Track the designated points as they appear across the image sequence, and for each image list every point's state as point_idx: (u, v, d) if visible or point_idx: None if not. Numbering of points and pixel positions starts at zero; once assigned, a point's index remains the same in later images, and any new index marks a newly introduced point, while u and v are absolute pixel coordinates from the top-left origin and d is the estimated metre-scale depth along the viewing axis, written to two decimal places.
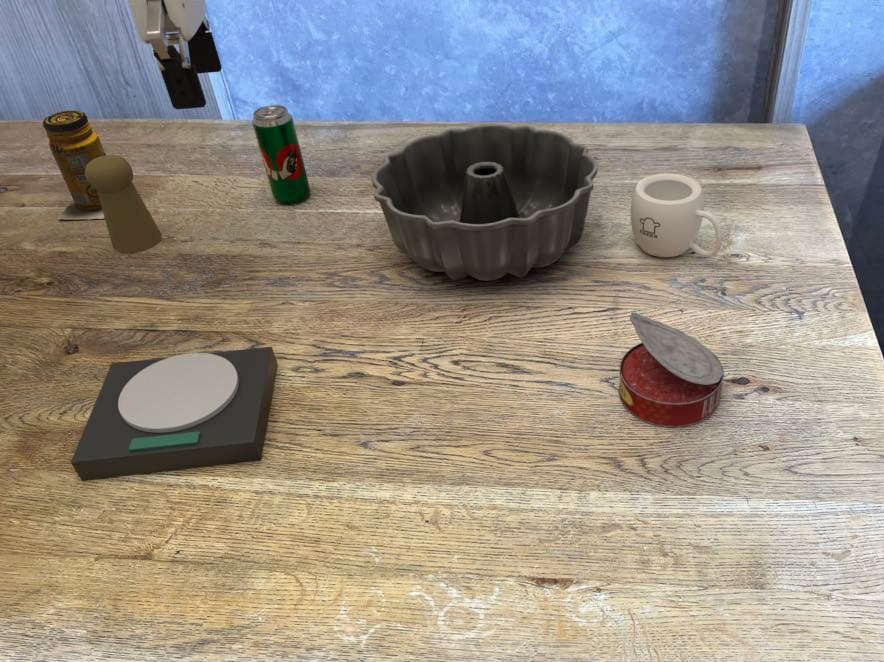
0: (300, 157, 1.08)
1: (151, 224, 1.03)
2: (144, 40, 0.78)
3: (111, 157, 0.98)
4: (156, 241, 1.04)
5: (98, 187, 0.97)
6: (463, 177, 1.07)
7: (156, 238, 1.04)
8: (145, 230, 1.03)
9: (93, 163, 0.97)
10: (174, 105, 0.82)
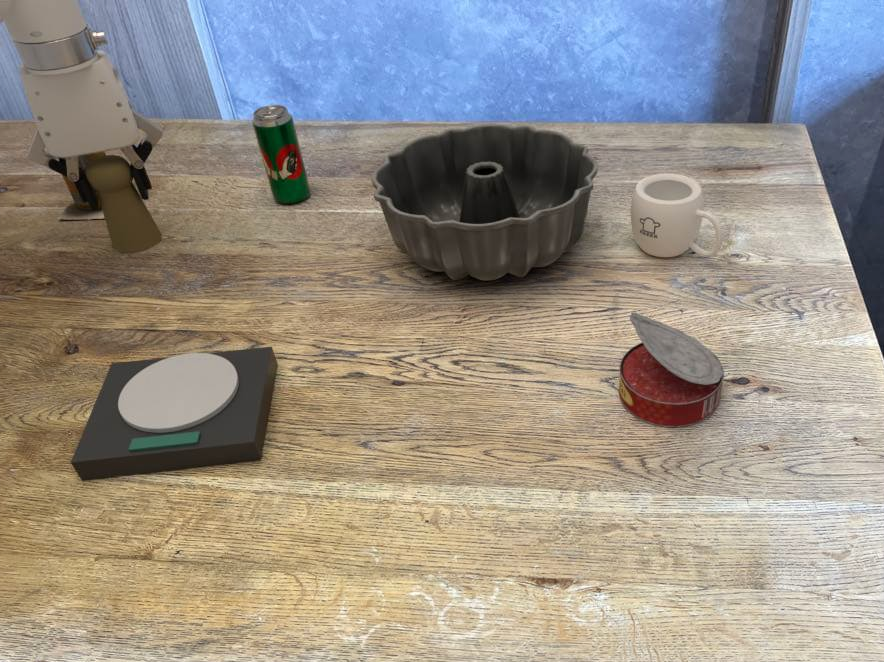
0: (300, 157, 1.08)
1: (151, 224, 1.03)
2: None
3: (111, 157, 0.98)
4: (156, 241, 1.04)
5: (98, 187, 0.97)
6: (463, 177, 1.07)
7: (156, 238, 1.04)
8: (145, 230, 1.03)
9: (93, 163, 0.97)
10: None
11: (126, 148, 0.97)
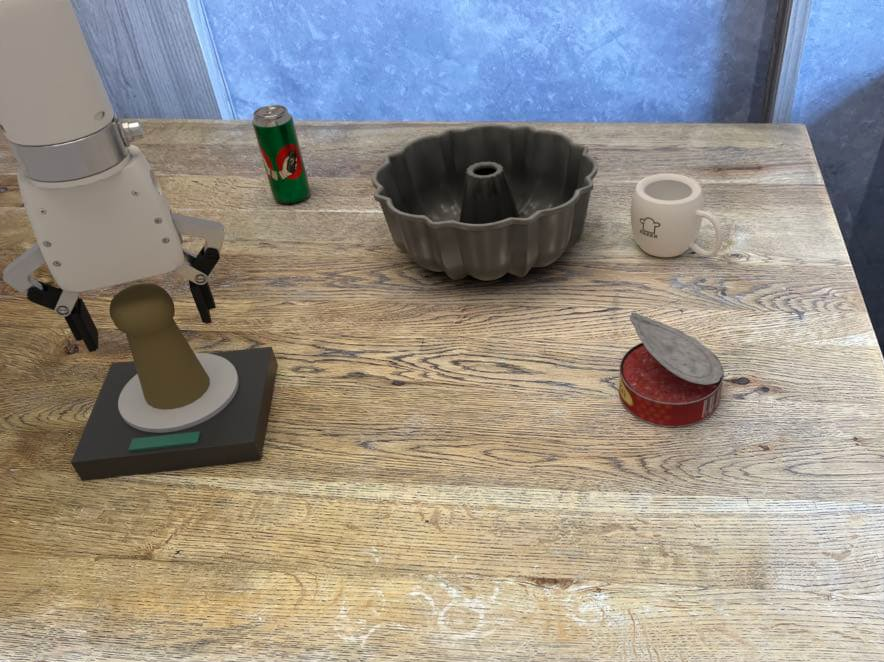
0: (300, 157, 1.08)
1: (197, 369, 0.77)
2: None
3: (145, 288, 0.71)
4: (203, 391, 0.77)
5: (127, 331, 0.71)
6: (463, 177, 1.07)
7: (203, 388, 0.77)
8: (190, 380, 0.76)
9: (121, 298, 0.70)
10: None
11: None
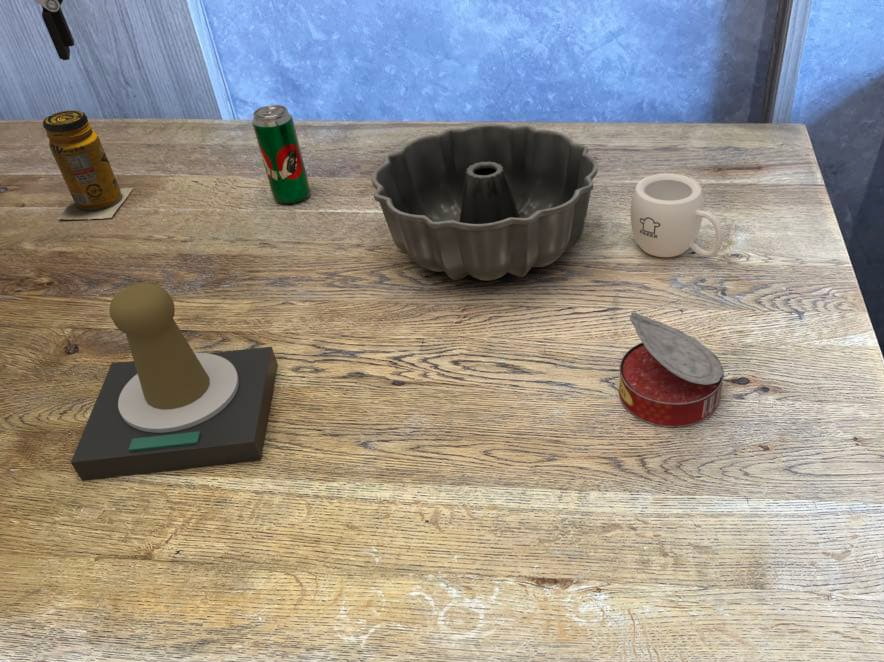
0: (300, 157, 1.08)
1: (197, 369, 0.77)
2: None
3: (145, 288, 0.71)
4: (203, 391, 0.77)
5: (127, 331, 0.71)
6: (463, 177, 1.07)
7: (203, 388, 0.77)
8: (190, 380, 0.76)
9: (121, 298, 0.70)
10: None
11: None
